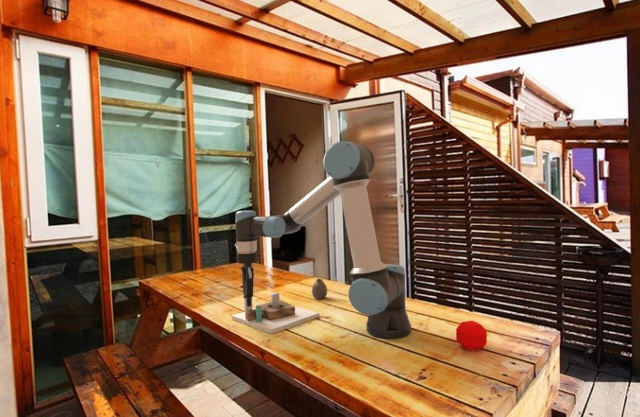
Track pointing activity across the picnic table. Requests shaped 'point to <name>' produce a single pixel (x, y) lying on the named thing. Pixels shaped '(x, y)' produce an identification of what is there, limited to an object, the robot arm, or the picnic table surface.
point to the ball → (471, 335)
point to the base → (278, 323)
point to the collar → (271, 311)
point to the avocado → (319, 289)
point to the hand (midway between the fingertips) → (248, 313)
